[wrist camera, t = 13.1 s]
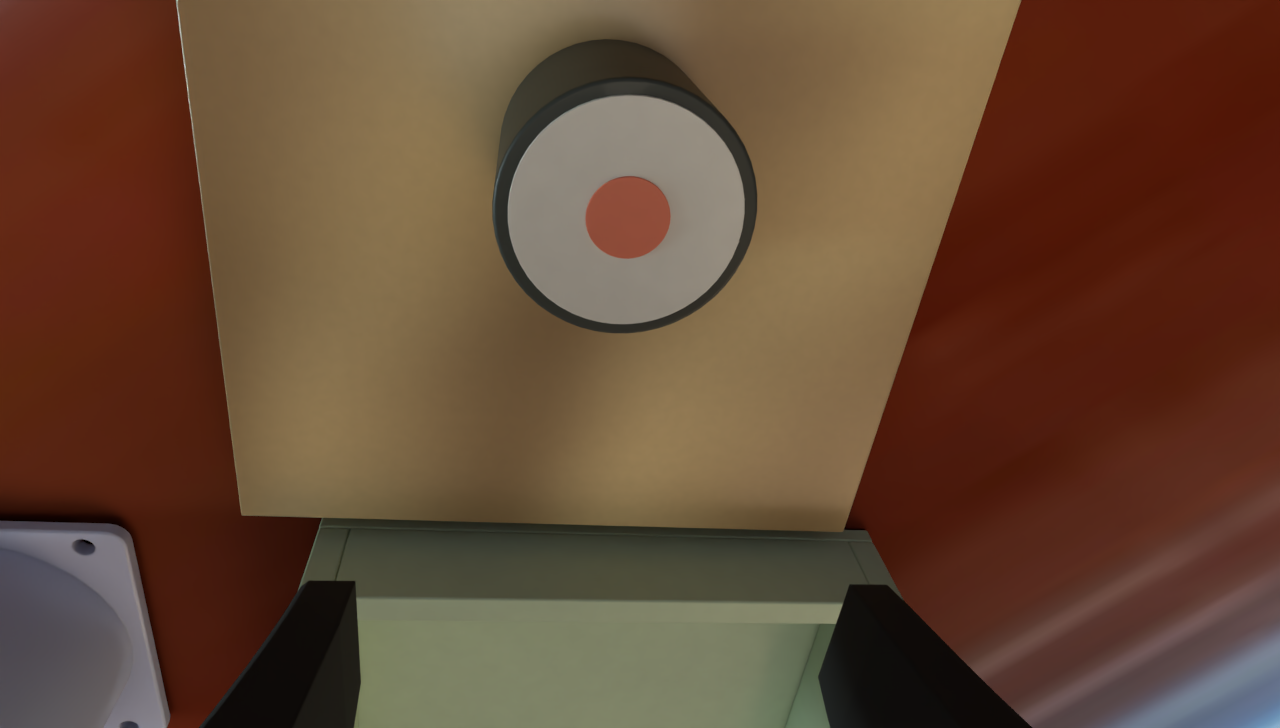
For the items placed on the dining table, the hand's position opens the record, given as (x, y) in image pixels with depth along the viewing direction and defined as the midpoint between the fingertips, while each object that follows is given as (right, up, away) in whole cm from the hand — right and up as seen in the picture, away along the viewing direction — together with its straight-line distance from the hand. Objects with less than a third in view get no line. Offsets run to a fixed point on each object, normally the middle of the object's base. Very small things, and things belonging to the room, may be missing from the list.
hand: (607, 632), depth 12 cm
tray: (-1, -6, +14) cm, 16 cm away
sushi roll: (0, +8, +5) cm, 10 cm away
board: (0, +9, +6) cm, 11 cm away
